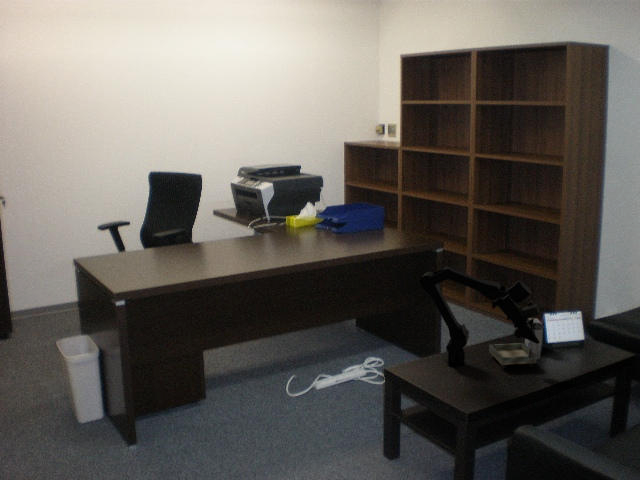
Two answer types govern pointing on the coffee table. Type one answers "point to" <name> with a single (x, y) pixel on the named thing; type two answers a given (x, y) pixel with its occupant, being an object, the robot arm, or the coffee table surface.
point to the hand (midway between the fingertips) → (539, 340)
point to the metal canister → (533, 347)
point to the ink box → (542, 333)
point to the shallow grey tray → (511, 354)
